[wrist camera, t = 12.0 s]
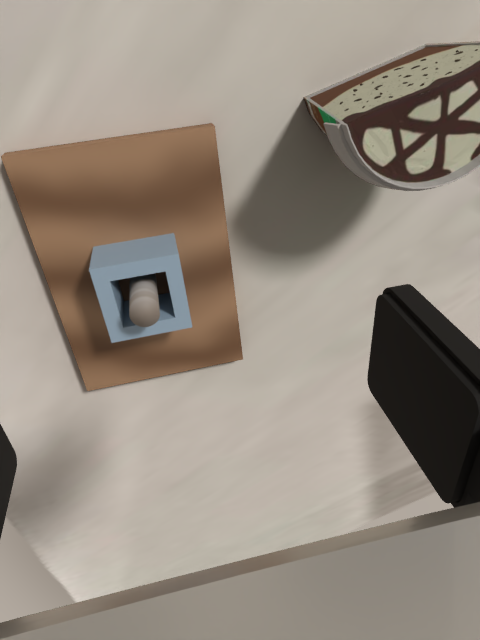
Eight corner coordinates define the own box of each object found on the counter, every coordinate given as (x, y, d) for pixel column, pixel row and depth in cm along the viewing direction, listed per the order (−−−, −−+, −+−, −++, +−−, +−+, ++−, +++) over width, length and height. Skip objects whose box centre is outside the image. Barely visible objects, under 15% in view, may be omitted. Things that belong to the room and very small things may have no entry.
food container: (306, 186, 36) (359, 231, 28) (284, 105, 33) (336, 129, 24) (453, 122, 36) (551, 149, 27) (446, 35, 32) (555, 34, 24)
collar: (93, 246, 34) (88, 269, 30) (174, 233, 34) (178, 253, 31) (113, 315, 37) (111, 343, 34) (187, 301, 38) (192, 327, 34)
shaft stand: (5, 152, 31) (-26, 181, 25) (211, 123, 32) (230, 143, 26) (88, 382, 41) (81, 441, 35) (240, 351, 43) (258, 403, 37)
